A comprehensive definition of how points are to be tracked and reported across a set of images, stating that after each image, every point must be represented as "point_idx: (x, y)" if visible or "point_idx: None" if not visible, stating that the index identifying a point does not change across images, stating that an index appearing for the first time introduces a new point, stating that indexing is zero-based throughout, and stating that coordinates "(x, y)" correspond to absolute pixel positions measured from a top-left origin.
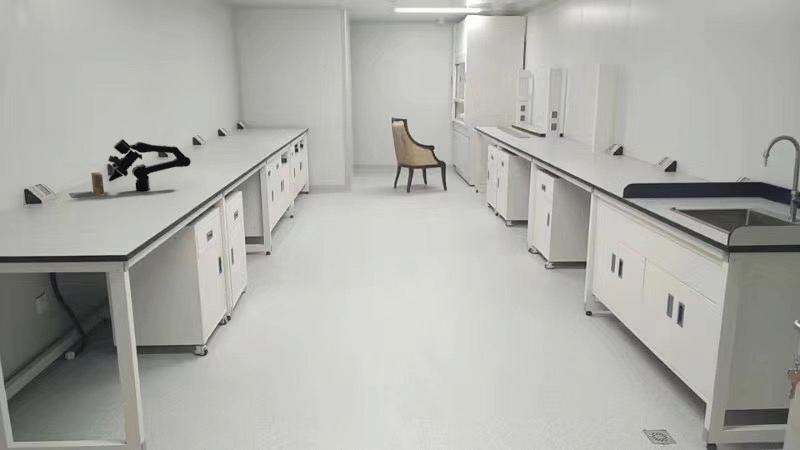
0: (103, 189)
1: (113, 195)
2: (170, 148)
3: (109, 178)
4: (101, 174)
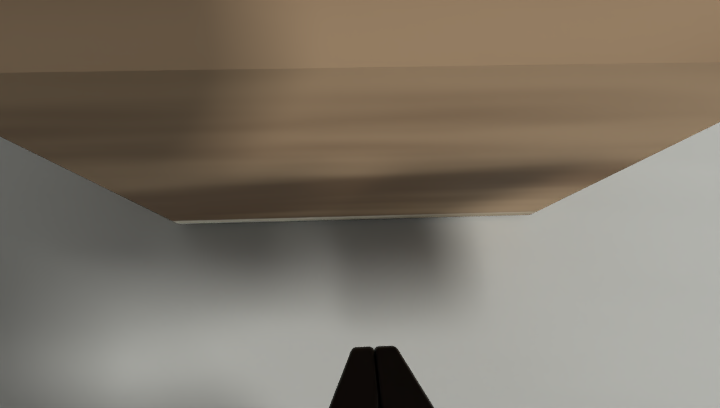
0: (143, 203)
1: (76, 357)
2: None
3: (366, 386)
4: (90, 69)
